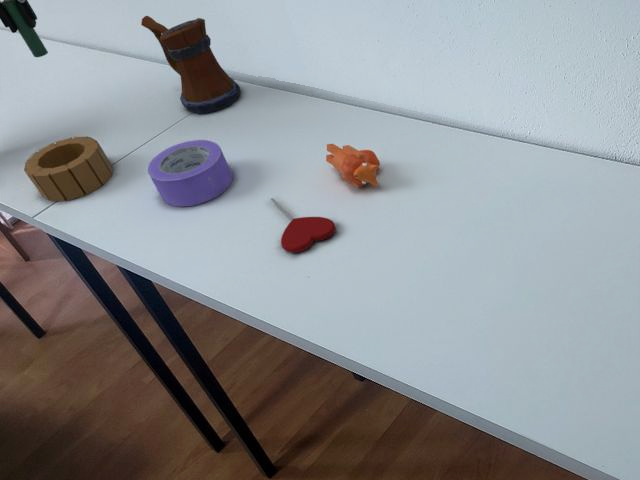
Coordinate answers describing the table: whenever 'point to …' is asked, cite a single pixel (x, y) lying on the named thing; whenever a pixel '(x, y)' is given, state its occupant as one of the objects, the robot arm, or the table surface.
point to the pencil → (24, 28)
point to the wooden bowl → (69, 168)
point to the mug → (195, 65)
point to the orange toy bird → (354, 164)
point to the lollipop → (305, 231)
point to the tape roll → (190, 173)
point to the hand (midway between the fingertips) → (24, 26)
